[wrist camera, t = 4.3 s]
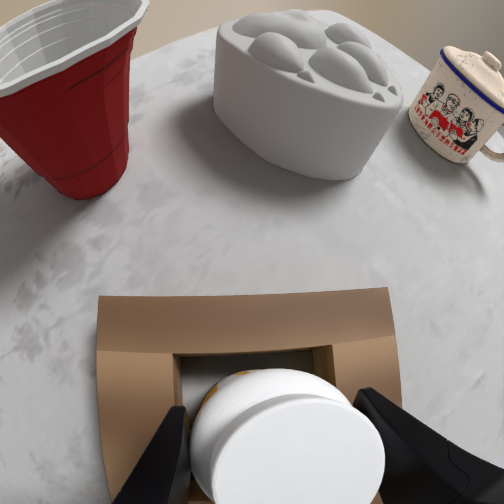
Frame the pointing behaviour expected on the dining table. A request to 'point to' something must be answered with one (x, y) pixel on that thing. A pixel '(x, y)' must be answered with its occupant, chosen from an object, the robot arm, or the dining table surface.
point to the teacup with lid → (460, 105)
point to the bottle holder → (229, 354)
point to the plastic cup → (70, 91)
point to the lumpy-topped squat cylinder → (303, 92)
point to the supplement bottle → (284, 442)
